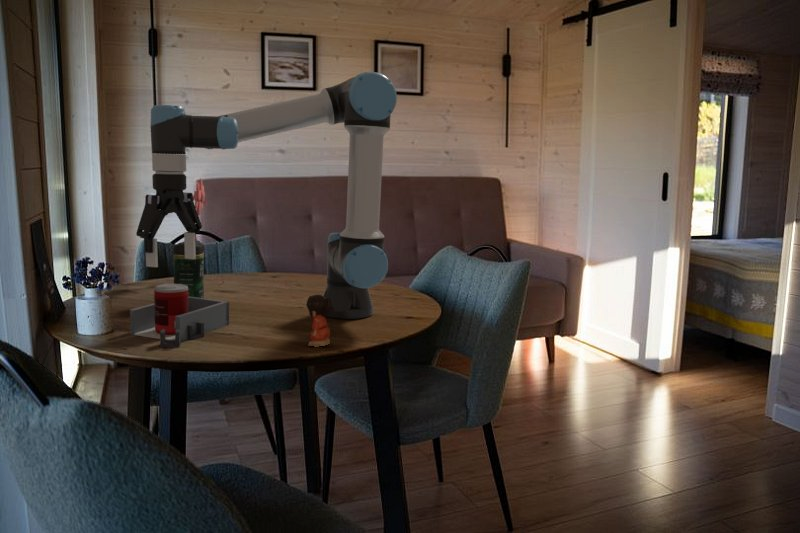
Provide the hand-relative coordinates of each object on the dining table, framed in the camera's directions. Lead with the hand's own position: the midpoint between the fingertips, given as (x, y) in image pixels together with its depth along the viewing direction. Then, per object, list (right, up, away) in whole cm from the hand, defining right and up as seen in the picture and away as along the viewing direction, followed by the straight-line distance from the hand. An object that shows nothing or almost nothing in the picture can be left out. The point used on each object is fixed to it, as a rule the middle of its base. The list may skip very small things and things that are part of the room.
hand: (171, 262), depth 159 cm
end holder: (0, -16, +6) cm, 18 cm away
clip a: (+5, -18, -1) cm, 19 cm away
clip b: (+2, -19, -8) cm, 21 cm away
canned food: (-1, -17, +3) cm, 17 cm away
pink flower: (-12, -7, +65) cm, 66 cm away
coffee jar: (-6, -12, +33) cm, 36 cm away
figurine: (+35, -19, -2) cm, 41 cm away
